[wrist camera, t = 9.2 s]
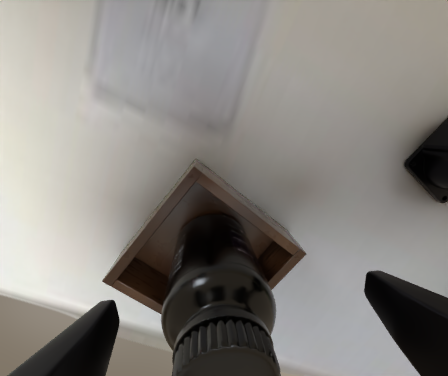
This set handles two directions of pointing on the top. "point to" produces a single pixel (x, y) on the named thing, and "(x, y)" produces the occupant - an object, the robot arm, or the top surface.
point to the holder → (182, 215)
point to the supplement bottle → (218, 303)
